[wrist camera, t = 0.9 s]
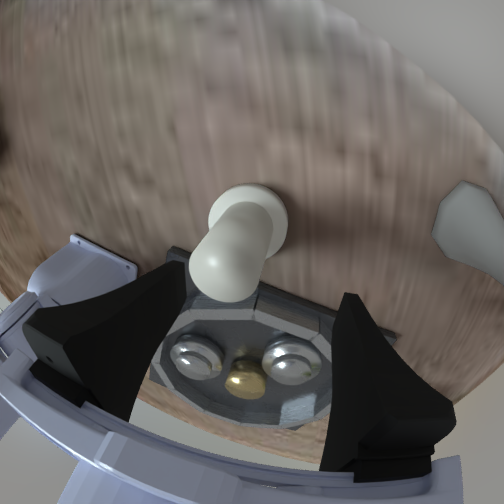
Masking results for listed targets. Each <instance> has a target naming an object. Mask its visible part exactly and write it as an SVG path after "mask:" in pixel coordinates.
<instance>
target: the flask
mask: <svg viewBox="0 0 504 504" xmlns="http://www.w3.org/2000/svg"><path fill="white" fill-rule="evenodd" d="M431 235H432V237H433V238H434V240H435V241H436V243H437V244H438V246H439V247H440V249H441V250H442V252H443V253H444V255H445V256H446V257H448V258H450V259H453V260H456V261H459V262H461V263H464V264H467V265H469V266H472V267H474V268H476V269H478V270H480V271H483V272H485V273H487V274H489V275H491V276H492V277H493V278H494V279H496V280H497V281H498V282H500V283H501V284H502V285H503V286H504V220H503V218H502V216H501V214H500V212H499V211H498V209H497V207H496V205H495V203H494V201H493V200H492V198H491V196H490V194H489V193H488V191H487V190H486V188H483V187H480V186H477V185H475V184H472V183H469V182H466V181H461V182H460V183H459V184H458V185H457V186H456V187H455V188H454V189H453V190H452V191H451V192H450V193H449V194H448V195H447V196H446V197H445V198H444V199H443V200H442V201H441V202H440V205H439V209H438V213H437V217H436V220H435V224H434V227H433V230H432V234H431Z"/></svg>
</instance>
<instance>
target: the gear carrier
mask: <svg viewBox="0 0 504 504" xmlns="http://www.w3.org/2000/svg"><path fill="white" fill-rule="evenodd" d="M191 255H192V254H191V253H189V252H186V251H184V250H181V249H179V248H177V247H174V246H172V247H171V248H170V249H169V250H168V253H167V258H166V263H167V262H169V261H172V260H175V261H180V262H185V277H186V291H187V298H186V301H185V303H184V305H183V308H182V310H181V312H180V314H179V316H178V317H177V319H176V321H175V322H174V324H173V325H172V327H171V329H170V330H169V332H168V333H167V335H166V337H165V338H164V340H163V341H162V343H161V344H160V346H159V348H158V349H157V351H156V353H155V355H154V357H153V359H152V361H151V366H150V377H149V380H152V381H154V382H156V383H158V384H160V385H162V386H164V387H167V388H168V389H170V391H171V392H173V393H174V394H175V395H177V396H178V397H179V398H181V399H182V400H184V401H185V402H186V403H188V404H189V405H191V406H192V407H194V408H195V409H197V410H198V411H200V412H202V413H204V414H207V415H209V416H212V417H215V418H218V419H221V420H224V421H227V422H230V423H233V424H236V425H239V426H240V425H241V426H246V427H258V428H276V429H282V428H283V429H284V428H286V429H290V430H294V431H296V430H297V429H298V428H300V427H301V426H303V425H304V424H306V423H310V422H313V421H317V420H320V419H322V418H323V417H325V416H326V415H327V414H328V413H330V409H331V401H332V360H331V339H332V327H333V324H334V321H335V318H336V315H337V313H338V312H336V311H334V310H331V309H328V308H326V307H323V306H320V305H318V304H315V303H313V302H310V301H307V300H305V299H302V298H300V297H297V296H295V295H292V294H289V293H287V292H284V291H282V290H279V289H277V288H274V287H272V286H269V285H267V284H264V283H262V282H259V283H258V286H257V288H256V290H255V291H254V293H253V294H252V295H251V296H249V297H248V298H246V299H244V300H242V301H238V302H222V301H218V300H215V299H213V298H210V297H209V296H207V295H206V294H204V293H203V292H202V291H201V290H199V288H198V287H197V286H196V285H195V283H194V282H193V280H192V278H191V275H190V272H189V260H190V257H191ZM378 328H379V330H380V331H381V332H382V334H383V335H384V337H385V338H386V339H387V341H388V342H389V344H390V345H392V344H393V343H394V342H395V341H396V340H397V339H396V335H395V333H394V332H391V331H388V330H385V329H382V328H380V327H378Z"/></svg>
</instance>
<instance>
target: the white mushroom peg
mask: <svg viewBox="0 0 504 504" xmlns="http://www.w3.org/2000/svg"><path fill="white" fill-rule="evenodd" d="M208 222H209V230H210V231H209V232H208V233H207V235H206V236H205V237H204V238H203V240H202V241H201V242H200V244H199V245H198V246H197V248H196V249H195V250H194V251H193V253H192V255H191V257H190V260H189V272H190V275H191V278H192V280H193V282H194V283H195V285H196V286H197V287H198V288H199V290H201V291H202V292H203V293H204V294H206V295H207V296H209V297H210V298H213V299H215V300H218V301H222V302H238V301H242V300H244V299H246V298H248V297H249V296H251V295H252V294H253V293H254V291H255V290H256V288H257V286H258V283H259V280H260V276H261V273H262V269H263V266H264V262H265V259H267V258H269V257H271V256H272V255H274V254H275V253H276V252H277V251H278V250H279V249H280V248H281V246H282V245H283V243H284V240H285V238H286V233H287V228H288V214H287V210H286V207H285V205H284V203H283V201H282V200H281V199H280V197H279V196H278V195H277V194H276V193H275V192H273V191H272V190H270V189H269V188H267V187H265V186H262V185H259V184H255V183H243V184H238V185H235V186H233V187H231V188H229V189H228V190H227V191H225V192H224V193H223V194H222V195H221V196H220V197H219V198H218V199H217V200H216V202H215V203H214V204H213V206H212V208H211V211H210V214H209V221H208Z"/></svg>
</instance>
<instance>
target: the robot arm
mask: <svg viewBox="0 0 504 504" xmlns="http://www.w3.org/2000/svg"><path fill="white" fill-rule="evenodd" d="M128 266H129V267H128ZM137 270H138V269H137V266H136V265H135V264H133V263H131V262H129V261H127V260H125V259H123V258H121V257H119V256H117V255H115V254H113V253H111V252H109V251H107V250H105V249H103V248H101V247H99V246H97V245H95V244H93V243H91V242H89V241H87V240H85V239H83V238H81V237H79V236H77V235H76V234H72V235H71V236H70V243H68V244H67V245H66V246H64V247H63V248H62V249H60V250H59V251H58V252H56V253H55V254H54V255H52V256H51V257H50V258H48V259H47V260H46V261H44V262H43V263H42V264H41V265H40V266H38V267H37V269H36V270H35V271H34V273H33V274H32V276H31V278H30V280H29V283H28V287H27V291H26V292H25V293H23V294H22V295H21V296H19V297H18V298H17V299H16V300H15V301H13V302H12V303H11V304H10V305H9V306H8V307H7V308H6V309H5V310H4V311H3V312H2V313H1V314H0V347H1V348H2V349H3V351H4V352H5V353H6V354H7V356H8V359H7V357H6V356H5V355H4V354H3V352H2V351H1V349H0V440H1V439H2V437H3V436H4V435H5V434H6V433H7V431H8V430H9V429H10V428H11V427H12V425H13V424H14V423H15V422H16V421H17V420H18V418H19V417H22V418H23V419H24V420H26V421H27V422H28V423H29V424H30V425H31V426H32V427H34V428H35V429H36V430H37V431H38V432H40V433H41V434H42V435H43V436H44V437H46V438H47V439H48V440H50V441H51V442H52V443H53V444H55V445H56V446H57V447H59V448H60V449H62V450H63V451H64V452H66V453H67V454H69V455H70V456H72V457H73V458H74V459H76V460H78V461H79V462H78V465H77V466H76V468H75V470H74V472H73V474H72V475H71V477H70V479H69V481H68V483H67V485H66V487H65V489H64V491H63V493H62V494H61V496H60V499H59V500H58V502H57V504H463V483H462V471H461V461H460V456H459V455H456V456H451V457H447V458H441V459H437V460H434V461H432V462H431V455H433V454H434V452H435V450H434V445H435V444H436V443H438V442H439V441H440V440H441V439H443V438H444V437H445V436H447V435H448V434H449V433H450V432H451V431H452V430H453V428H454V427H455V425H456V417H455V412H454V408H453V404H452V401H450V400H449V399H447V398H446V397H444V396H443V395H442V394H440V393H439V392H437V391H436V390H435V389H433V388H432V387H431V386H430V385H429V384H427V383H426V382H425V381H424V380H423V379H422V378H420V377H419V376H418V375H417V374H416V373H415V372H414V371H413V370H412V369H411V368H410V367H409V366H408V365H407V364H406V363H405V362H404V361H403V359H402V358H401V357H400V356H399V355H398V354H397V352H396V351H395V350H394V349H393V348H392V346H391V345H390V344H389V342H388V341H387V339H386V338H385V337H384V335H383V334H382V332H381V331H380V330H379V328H378V327H377V325H376V323H375V322H374V320H373V319H372V317H371V315H370V314H369V312H368V310H367V309H366V307H365V305H364V304H363V302H362V300H361V299H360V297H359V296H358V294H352V293H346V292H345V293H344V295H343V298H342V301H341V304H340V307H339V310H338V313H337V315H336V318H335V321H334V324H333V327H332V339H331V360H332V401H331V409H330V417H329V424H328V430H327V436H326V441H325V446H324V451H323V455H322V460H321V464H320V468H319V471H309V470H298V469H289V468H282V467H274V466H269V465H263V464H257V463H252V462H247V461H242V460H238V459H233V458H229V457H225V456H221V455H217V454H213V453H210V452H206V451H203V450H200V449H196V448H193V447H190V446H187V445H184V444H181V443H177V442H175V441H172V440H169V439H167V438H164V437H161V436H159V435H156V434H153V433H151V432H149V431H146V430H144V429H142V428H139V427H137V426H134V425H132V424H130V423H128V422H129V419H130V415H131V412H132V409H133V405H134V403H135V400H136V397H137V394H138V392H139V389H140V386H141V384H142V381H143V379H144V377H145V374H146V372H147V370H148V367H149V365H150V363H151V361H152V359H153V357H154V355H155V353H156V351H157V349H158V348H159V346H160V344H161V343H162V341H163V340H164V338H165V337H166V335H167V333H168V332H169V330H170V329H171V327H172V325H173V324H174V322H175V321H176V319H177V317H178V316H179V314H180V312H181V310H182V308H183V305H184V303H185V301H186V298H187V291H186V277H185V262H180V261H175V260H172V261H169V262H167V263H165V264H164V265H162V266H160V267H158V268H156V269H154V270H153V271H151V272H149V273H147V274H145V275H143V276H141V277H140V278H138V279H137ZM263 485H265V486H263ZM267 486H271V487H267ZM272 487H277V488H272Z"/></svg>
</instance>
